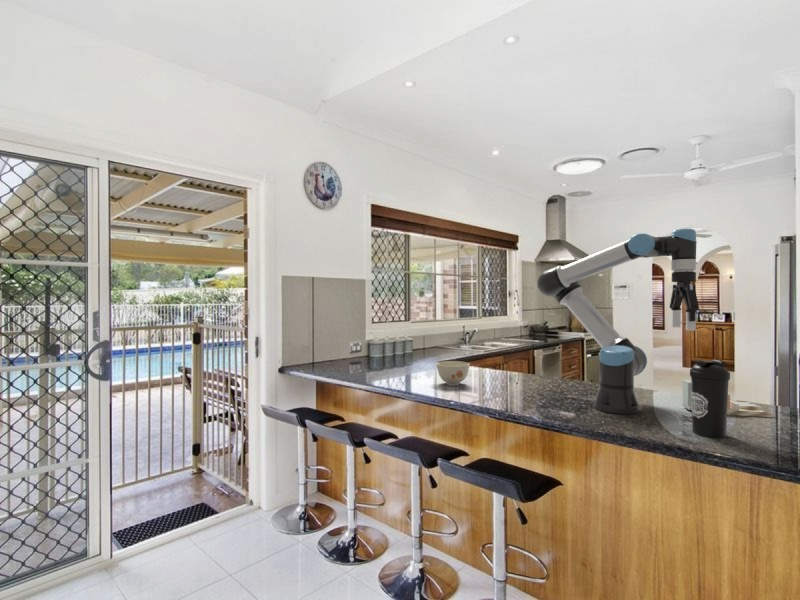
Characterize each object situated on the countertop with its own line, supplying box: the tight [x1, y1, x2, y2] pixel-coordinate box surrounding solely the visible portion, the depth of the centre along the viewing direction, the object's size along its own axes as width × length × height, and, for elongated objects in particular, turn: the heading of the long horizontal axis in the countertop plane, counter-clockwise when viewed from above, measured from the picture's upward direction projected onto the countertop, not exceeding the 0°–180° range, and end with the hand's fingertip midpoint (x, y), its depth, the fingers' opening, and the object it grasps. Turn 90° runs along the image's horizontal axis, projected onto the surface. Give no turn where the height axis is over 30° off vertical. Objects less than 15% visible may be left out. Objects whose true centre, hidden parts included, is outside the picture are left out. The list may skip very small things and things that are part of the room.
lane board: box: [727, 399, 775, 418], centre depth 160 cm, size 21×16×2 cm
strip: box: [681, 379, 739, 411], centre depth 158 cm, size 16×6×10 cm, turn 76°
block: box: [727, 393, 731, 409], centre depth 157 cm, size 5×5×5 cm
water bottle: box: [689, 359, 731, 439], centre depth 133 cm, size 10×10×23 cm
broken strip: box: [735, 402, 758, 406], centre depth 163 cm, size 16×6×1 cm, turn 76°
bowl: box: [436, 360, 470, 387], centre depth 206 cm, size 16×16×10 cm
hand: (683, 328), depth 157 cm, fingers open, 13 cm apart
